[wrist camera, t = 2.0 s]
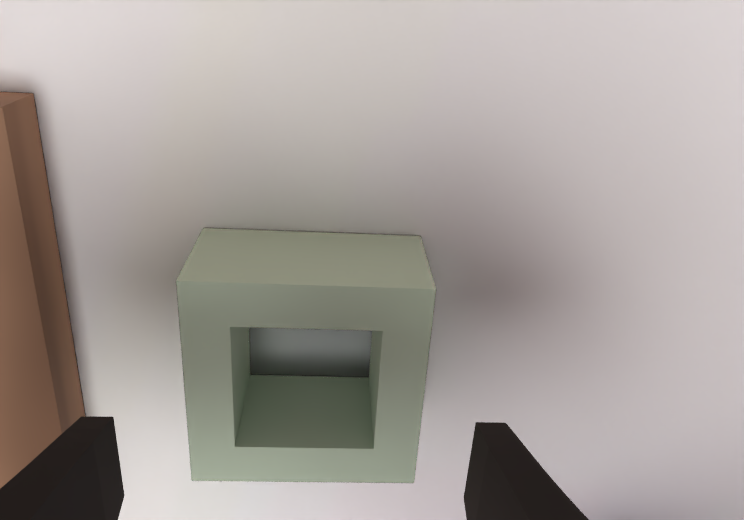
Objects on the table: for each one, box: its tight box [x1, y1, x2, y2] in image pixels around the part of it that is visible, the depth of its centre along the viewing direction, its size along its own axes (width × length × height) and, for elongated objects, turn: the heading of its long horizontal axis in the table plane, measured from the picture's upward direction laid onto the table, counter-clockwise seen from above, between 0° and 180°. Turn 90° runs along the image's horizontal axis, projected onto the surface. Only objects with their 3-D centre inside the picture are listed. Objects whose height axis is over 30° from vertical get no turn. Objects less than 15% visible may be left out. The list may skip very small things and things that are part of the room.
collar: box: [176, 228, 436, 483], centre depth 16 cm, size 6×6×3 cm
